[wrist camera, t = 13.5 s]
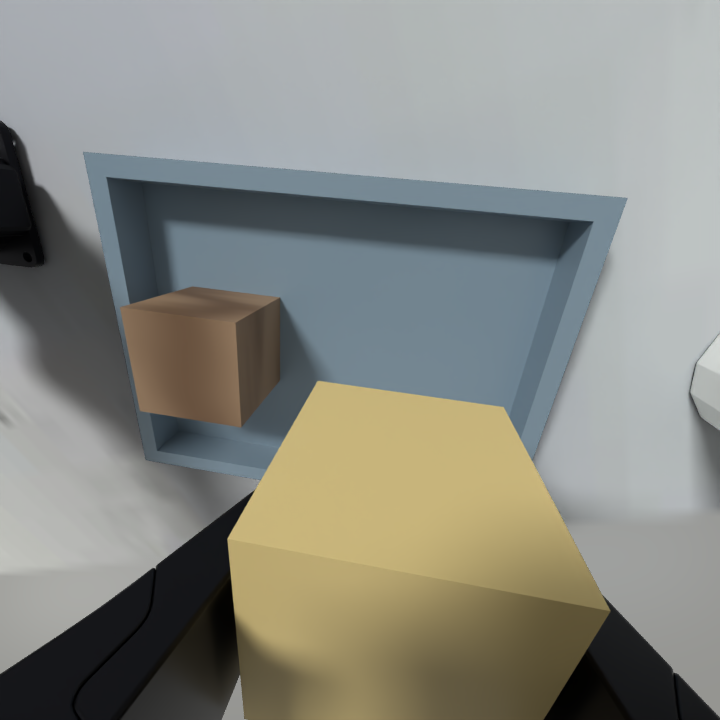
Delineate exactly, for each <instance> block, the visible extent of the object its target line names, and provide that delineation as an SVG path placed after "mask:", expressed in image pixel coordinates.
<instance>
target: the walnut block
mask: <svg viewBox="0 0 720 720" xmlns="http://www.w3.org/2000/svg"><path fill="white" fill-rule="evenodd" d="M120 310H121V316H122V321H123V326H124V331H125V336H126V341H127V347H128V352H129V357H130V362H131V367H132V372H133V378H134V383H135V388H136V393H137V398H138V403H139V409H140V411H143V412H149V413H155V414H161V415H167V416H173V417H180V418H186V419H192V420H198V421H204V422H210V423H216V424H223V425H229V426H235V427H242V426H243V425H244V424H245V422H246V421H247V420H248V419H249V418H250V416H251V415H252V414H253V413H254V411H255V410H256V409H257V408H258V407H259V405H260V404H261V403H262V402H263V401H264V399H265V398H266V397H267V396H268V394H269V393H270V392H271V391H272V390H273V388H274V387H275V386H276V385H277V384H278V382H279V381H280V297H273V296H265V295H257V294H249V293H241V292H233V291H225V290H217V289H209V288H201V287H193V286H192V287H189V288H185V289H182V290H178V291H175V292H171V293H168V294H164V295H161V296H157V297H154V298H150V299H147V300H143V301H140V302H136V303H133V304H129V305H126V306H123V307H120Z"/></svg>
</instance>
